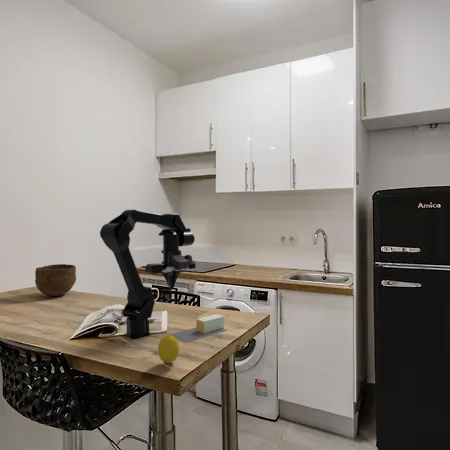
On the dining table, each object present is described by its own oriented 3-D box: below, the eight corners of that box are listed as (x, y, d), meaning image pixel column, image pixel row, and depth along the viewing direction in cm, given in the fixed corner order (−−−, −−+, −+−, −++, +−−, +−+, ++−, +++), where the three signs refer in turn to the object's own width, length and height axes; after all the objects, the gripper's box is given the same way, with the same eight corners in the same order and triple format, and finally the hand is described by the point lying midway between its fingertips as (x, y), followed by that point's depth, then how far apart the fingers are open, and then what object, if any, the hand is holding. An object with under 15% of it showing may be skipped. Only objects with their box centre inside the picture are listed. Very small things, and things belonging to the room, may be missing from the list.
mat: (186, 343, 107) (186, 342, 107) (169, 335, 115) (169, 334, 115) (227, 331, 119) (227, 330, 119) (209, 324, 126) (209, 323, 126)
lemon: (159, 360, 95) (159, 331, 95) (179, 359, 96) (179, 330, 96) (157, 368, 90) (156, 338, 90) (178, 368, 90) (178, 337, 90)
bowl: (66, 300, 165) (65, 269, 165) (27, 300, 166) (26, 269, 165) (83, 291, 184) (82, 263, 184) (48, 291, 184) (47, 263, 184)
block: (203, 321, 115) (223, 316, 121) (196, 319, 118) (216, 314, 124) (203, 333, 116) (223, 327, 121) (196, 330, 119) (216, 325, 125)
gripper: (160, 250, 116) (160, 297, 116) (204, 247, 128) (204, 289, 128) (144, 248, 124) (144, 292, 124) (187, 245, 136) (187, 284, 137)
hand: (171, 289), depth 128 cm, fingers closed
